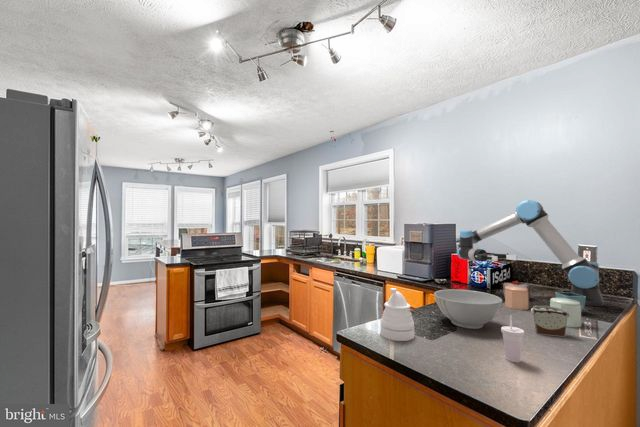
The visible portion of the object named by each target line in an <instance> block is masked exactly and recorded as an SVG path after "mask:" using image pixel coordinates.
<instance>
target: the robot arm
mask: <svg viewBox="0 0 640 427" xmlns="http://www.w3.org/2000/svg"><path fill="white" fill-rule="evenodd" d="M520 224H523V225H524V224H525V225H526V226H527V228H532V229H533V230H534V232H535V233H536V234H537V235H538V236H539V237H540V239H541V240H542V241H543V242H544V244H545V245H546V246H547V247H548V249H549V250H550V251H551V252H552V254H553V255H554V256H555V257H556V259H557V260H558V261H559V262H560V263H561V264H562V266H561V270H562V271H563V272H564V273H565V274H566V276H567V278H568V280H569V282H570V283H571V288H570V290H569V293H575V294H579V295H582V296H585V297H586V300H585V306H592V307H603V306H604V305H605V300H604V298H603V295H602V293H601V291H600V266H599V265H600V264H599V263H598V262H597V261H588V260H587V259H586V258H585V257H582V256H580V255H578V253H577V252H576V251H575V250H574V249H573V247H572V246H571V245H570V243H568V241H567V240H566V239H565V237H563V236H562V234H561V233H560V232H559V231H558V229H557V228H556V227H555V226H554V225H553V224H552V222H551V221H550V220H549V214H548V213H547V212H546V210H545V209H544V207H543V206H542V204H541V203H539V202H538V201H536V200H533V199H526V200H523V201H520V202H519V203H518V204H517V205H516V208H515V210H514V212H513V213H510V214H507V215H506V216H504V217H502V218H500V219H498V220H495V221H493V222H491V223H488V224H487V225H484V226H482V227H480V228H478V229H476V230H474V231H473V230H471V229H464V230H463V229H462V230H460V231H459V244H460V247H459V248H458V249H457V251H456V255H457V257H458V258H459V259H463V260H468V261H473V262H480V263H482V262H488V261H491V262H492V261H493V262H498V261H499V259H502V260H503V259H504V260H511V261H518V255H516V254H509V253H493V252H487V251H486V250H485V249H484V248H483V249H482V248H480V249H479V248H474V244H477V243H479V242H481V241H483V240H485V239H487V238H490V237H493V236H494V235H497V234H499V233H501V232H504V231H506V230H508V229H511V228H512V227H515V226H517V225H520Z"/></svg>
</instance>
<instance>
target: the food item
mask: <svg viewBox="0 0 640 427" xmlns="http://www.w3.org/2000/svg"><path fill="white" fill-rule="evenodd" d="M502 286H503V287H502V288H503V294H502V295H503V297H504V298H505V286H518V287H524V288H527V289H528V301H530V300H531V291H530V290H531V286H530V285H529V284H525V283H524V284H523V283H521V282H519V281H518V280H515V281H514V280H513V281H512V282H504V283H503V284H502Z"/></svg>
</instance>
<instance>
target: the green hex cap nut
mask: <svg viewBox="0 0 640 427" xmlns="http://www.w3.org/2000/svg"><path fill="white" fill-rule="evenodd" d="M549 307H555V308H560V309H563V310H566V311H568V313H569V316H567V325H566V328H581V327H582V311H581V305H580V302H579V301H576V300H572V299H566V298H556V297H552V298H550V300H549Z"/></svg>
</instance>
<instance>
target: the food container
mask: <svg viewBox="0 0 640 427" xmlns="http://www.w3.org/2000/svg"><path fill="white" fill-rule="evenodd" d="M531 309H532V312H531V314H533V313H534V314H533V320H534V326H535V334H537V335H542V336H543V335H544V336H554V337H561V338H562V337H563V338H566V333H567V326H566V325H567V316H569V313H568V311H566V310H563V309H560V308H555V307H550V305H549V306H548V305H534V306H533V307H532V308H531Z"/></svg>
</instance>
